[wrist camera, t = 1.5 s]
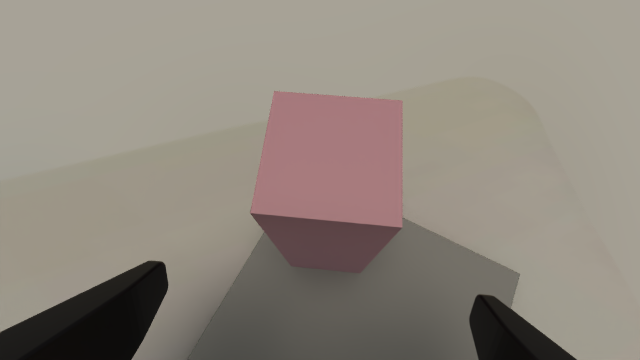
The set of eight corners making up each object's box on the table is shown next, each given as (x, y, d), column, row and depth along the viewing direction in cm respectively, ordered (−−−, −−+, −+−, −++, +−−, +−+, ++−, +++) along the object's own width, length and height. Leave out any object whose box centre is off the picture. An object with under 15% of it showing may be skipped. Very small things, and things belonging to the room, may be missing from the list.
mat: (408, 665, 14) (410, 674, 14) (133, 452, 17) (129, 455, 17) (516, 274, 20) (520, 273, 20) (302, 171, 23) (302, 169, 23)
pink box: (359, 273, 20) (402, 227, 9) (291, 266, 20) (250, 213, 9) (363, 206, 22) (402, 99, 11) (299, 200, 22) (274, 89, 11)
